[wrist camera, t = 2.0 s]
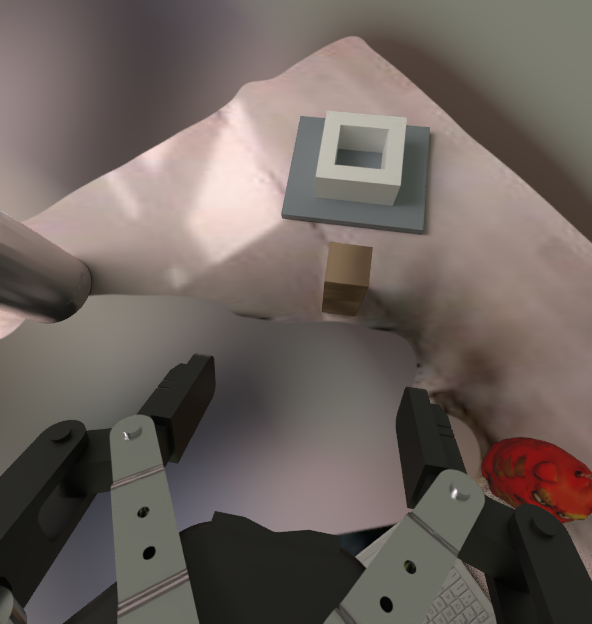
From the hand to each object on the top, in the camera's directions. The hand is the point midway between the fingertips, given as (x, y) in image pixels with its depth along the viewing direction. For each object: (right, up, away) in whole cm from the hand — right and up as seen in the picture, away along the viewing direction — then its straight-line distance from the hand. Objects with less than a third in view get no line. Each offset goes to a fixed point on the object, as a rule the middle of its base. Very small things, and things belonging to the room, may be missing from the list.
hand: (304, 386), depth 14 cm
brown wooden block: (+5, +5, +27) cm, 27 cm away
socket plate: (+8, +22, +31) cm, 39 cm away
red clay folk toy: (+22, -13, +21) cm, 33 cm away
